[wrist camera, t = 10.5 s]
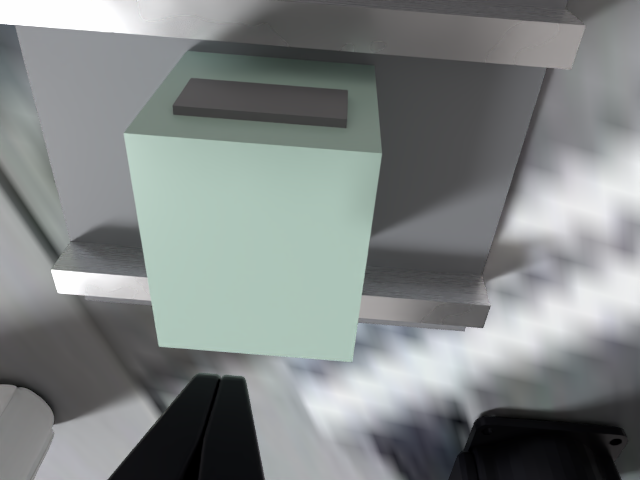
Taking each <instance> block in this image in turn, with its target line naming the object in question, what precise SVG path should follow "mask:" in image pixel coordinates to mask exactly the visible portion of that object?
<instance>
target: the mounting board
mask: <svg viewBox="0 0 640 480" xmlns="http://www.w3.org/2000/svg"><path fill="white" fill-rule="evenodd" d="M567 2H568V0H0V23H3V24H15V27H16V31H17V35H18V39H19V43H20V47H21V51H22V55H23V59H24V62H25V66H26V70H27V74H28V78H29V82H30V86H31V90H32V94H33V98H34V101H35V105H36V109H37V113H38V117H39V121H40V125H41V129H42V133H43V136H44V140H45V144H46V148H47V152H48V156H49V160H50V164H51V168H52V172H53V175H54V179H55V183H56V187H57V191H58V195H59V199H60V203H61V207H62V211H63V214H64V218H65V222H66V226H67V230H68V234H69V238H70V243H69V244H68V246H67V247H66V249H65V250H64V252H63V253H62V254H61V256H60V257H59V259H58V260H57V262H56V263H55V265H54V266H53V267H52V269H51V272H52V275H53V278H54V282H55V285H56V289H57V292H58V293H62V294H75V295H84V296H85V300H90V301H102V302H114V303H127V304H139V305H151V306H152V303H151V297H150V291H149V285H148V279H147V273H146V266H145V260H144V254H143V248H142V242H141V236H140V230H139V224H138V218H137V212H136V206H135V200H134V194H133V188H132V182H131V175H130V169H129V163H128V157H127V151H126V145H125V139H124V132H125V131H126V129H127V128H128V127H129V125H130V124H131V123H132V122H133V120H134V119H135V118H136V116H137V115H138V114H139V112H140V111H141V110H142V109H143V107H144V106H145V105H146V103H147V102H148V101H149V99H150V98H151V97H152V96H153V94H154V93H155V92H156V90H157V89H158V88H159V86H160V85H161V84H162V82H163V81H164V80H165V79H166V77H167V76H168V75H169V73H170V72H171V71H172V69H173V68H174V67H175V66H176V64H177V63H178V62H179V60H180V59H181V58H182V56H183V55H184V54H185V53H186V51H195V52H208V53H221V54H234V55H247V56H260V57H272V58H285V59H298V60H311V61H324V62H337V63H349V64H362V65H374V66H375V77H376V89H377V100H378V112H379V124H380V135H381V147H382V157H381V164H380V171H379V178H378V185H377V192H376V199H375V206H374V213H373V220H372V227H371V234H370V241H369V248H368V255H367V262H366V269H365V276H364V283H363V290H362V297H361V304H360V311H359V318H358V323H370V324H382V325H395V326H407V327H419V328H431V329H443V330H455V331H465V328H466V327H477V328H483V327H484V324H485V321H486V318H487V315H488V312H489V309H490V306H491V305H490V301H489V298H488V294H487V291H486V288H485V284H484V281H483V277H482V274H483V270H484V267H485V264H486V261H487V258H488V254H489V251H490V248H491V245H492V242H493V238H494V235H495V232H496V229H497V226H498V222H499V219H500V216H501V213H502V210H503V207H504V203H505V200H506V197H507V194H508V191H509V187H510V184H511V181H512V178H513V175H514V171H515V168H516V165H517V162H518V159H519V155H520V152H521V149H522V146H523V143H524V139H525V136H526V133H527V130H528V127H529V124H530V120H531V117H532V114H533V111H534V108H535V104H536V101H537V98H538V95H539V92H540V88H541V85H542V82H543V79H544V76H545V72H546V69H547V68H558V69H570V70H571V69H572V66H573V63H574V60H575V57H576V54H577V51H578V48H579V45H580V42H581V39H582V36H583V33H584V30H585V27H586V25H585V24H584V23H582V22H581V21H580V20H579V19H578V18H576V17H575V16H574V15H573V14H572V13H570V12H569V11H568V10H567V9H566V5H567Z"/></svg>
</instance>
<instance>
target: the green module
mask: <svg viewBox="0 0 640 480" xmlns="http://www.w3.org/2000/svg"><path fill="white" fill-rule="evenodd" d="M124 139H125V145H126V151H127V157H128V163H129V169H130V175H131V182H132V188H133V194H134V200H135V206H136V212H137V218H138V224H139V230H140V236H141V242H142V248H143V254H144V260H145V266H146V273H147V279H148V285H149V291H150V297H151V303H152V309H153V315H154V321H155V327H156V333H157V339H158V345H159V347H170V348H183V349H195V350H207V351H220V352H232V353H245V354H257V355H270V356H282V357H295V358H307V359H320V360H332V361H345V362H352V360H353V353H354V346H355V339H356V332H357V325H358V318H359V311H360V304H361V297H362V290H363V283H364V276H365V269H366V262H367V255H368V248H369V241H370V234H371V227H372V220H373V213H374V206H375V199H376V192H377V185H378V178H379V171H380V164H381V157H382V147H381V135H380V124H379V112H378V100H377V89H376V77H375V66H374V65H362V64H349V63H337V62H324V61H311V60H298V59H285V58H272V57H260V56H247V55H234V54H221V53H208V52H195V51H186V53H185V54H184V55H183V56H182V58H181V59H180V60H179V62H178V63H177V64H176V66H175V67H174V68H173V69H172V71H171V72H170V73H169V75H168V76H167V77H166V79H165V80H164V81H163V82H162V84H161V85H160V86H159V88H158V89H157V90H156V92H155V93H154V94H153V96H152V97H151V98H150V99H149V101H148V102H147V103H146V105H145V106H144V107H143V109H142V110H141V111H140V112H139V114H138V115H137V116H136V118H135V119H134V120H133V122H132V123H131V124H130V125H129V127H128V128H127V129H126V131H125V132H124Z"/></svg>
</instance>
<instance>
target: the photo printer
mask: <svg viewBox="0 0 640 480" xmlns="http://www.w3.org/2000/svg"><path fill="white" fill-rule="evenodd" d="M53 424H54V415H53V412H52V410H51V408H50V407H49V406H48V404H47V403H46V402H45V401H44V400H43V399H42V398H41V397H40V396H38V395H37V394H35V393H34V392H32V391H31V390H29V389H27V388H23V387H19V388H17V387H16V386H14V385H4V384H0V480H34V478H35V476H36V473H37V471H38V469H39V467H40V465H41V463H42V461H43V459H44V457H45V455H46V453H47V451H48V449H49V447H50V445H51V442H52V439H53V437H54V431H53V429H52V426H53Z"/></svg>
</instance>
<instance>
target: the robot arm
mask: <svg viewBox="0 0 640 480" xmlns="http://www.w3.org/2000/svg"><path fill="white" fill-rule="evenodd" d="M627 443H628V439H627V436H626V434H625V432H624V430H623V429H622V428H619V427H611V426H598V425H586V424H574V423H562V422H550V421H538V420H526V419H514V418H501V417H489V416H487V417H481V418H479V419H477V420H476V421H475V422H474V425H473V427H472V430H471V433H470V435H469V438H468V440H467V443H466V446H465V448H464V451H462V452H461V453H460V454H459V455H458V456H457V458H456V461H455V464H454V466H453V469H452V472H451V475H450V477H449V480H621V477H620V475H619V472H618V470H617V468H616V465H615V463H614V462H615V461H616V459H617V458H618V456H619V455H620V453H621V452H622V450H623V449H624V447H625V446H626V444H627ZM108 480H265V477H264V472H263V467H262V462H261V457H260V451H259V446H258V441H257V436H256V430H255V425H254V420H253V415H252V410H251V404H250V399H249V394H248V389H247V384H246V380H245V378H244V377H242V376H232V375H224V376H222V378H221V377H220V376H219V375H217V374H208V373H198V374H196V375H195V376H194V377H193V378H192V379H191V381H190V382H189V383H188V384H187V385H186V387H185V388H184V389H183V390H182V391H181V393H180V394H179V395H178V396H177V397H176V399H175V400H174V401H173V402H172V403H171V405H170V406H169V407H168V408H167V409H166V411H165V412H164V413H163V414H162V415H161V416H160V418H159V419H158V420H157V421H156V422H155V424H154V425H153V426H152V427H151V428H150V430H149V431H148V432H147V433H146V434H145V436H144V437H143V438H142V439H141V440H140V442H139V443H138V444H137V445H136V446H135V448H134V449H133V450H132V451H131V452H130V453H129V455H128V456H127V457H126V458H125V459H124V461H123V462H122V463H121V464H120V465H119V467H118V468H117V469H116V470H115V471H114V473H113V474H112V475H111V476H110V477H109V479H108Z"/></svg>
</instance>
